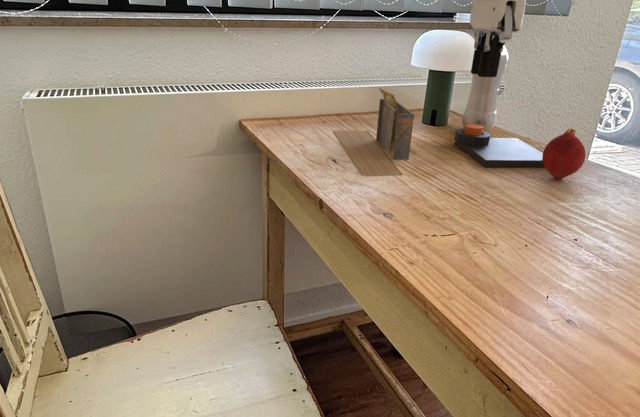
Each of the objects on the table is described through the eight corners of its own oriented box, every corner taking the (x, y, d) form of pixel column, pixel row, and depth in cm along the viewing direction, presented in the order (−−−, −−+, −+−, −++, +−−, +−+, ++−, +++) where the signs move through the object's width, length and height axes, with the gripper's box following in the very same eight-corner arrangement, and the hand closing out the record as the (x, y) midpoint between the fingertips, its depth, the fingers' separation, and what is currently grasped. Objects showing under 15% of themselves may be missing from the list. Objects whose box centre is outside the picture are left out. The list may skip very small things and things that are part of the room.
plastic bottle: (485, 128, 103) (505, 27, 95) (498, 137, 97) (520, 30, 88) (455, 127, 102) (472, 25, 94) (466, 136, 96) (485, 28, 88)
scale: (514, 144, 93) (517, 129, 91) (553, 168, 80) (558, 151, 79) (448, 143, 91) (451, 128, 90) (478, 168, 79) (482, 150, 78)
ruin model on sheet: (332, 130, 96) (335, 79, 92) (413, 131, 98) (419, 81, 94) (361, 175, 73) (366, 110, 69) (464, 174, 76) (475, 112, 72)
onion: (573, 189, 72) (588, 136, 69) (533, 179, 75) (545, 128, 72) (581, 179, 76) (595, 128, 73) (543, 170, 79) (555, 121, 76)
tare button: (477, 132, 89) (478, 124, 88) (484, 137, 86) (485, 128, 86) (461, 132, 89) (462, 123, 88) (468, 136, 86) (469, 128, 85)
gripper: (556, -49, 69) (527, 84, 77) (504, -43, 83) (484, 68, 91) (506, -52, 68) (482, 83, 76) (462, -45, 82) (445, 67, 90)
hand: (483, 74), depth 83 cm, fingers closed
